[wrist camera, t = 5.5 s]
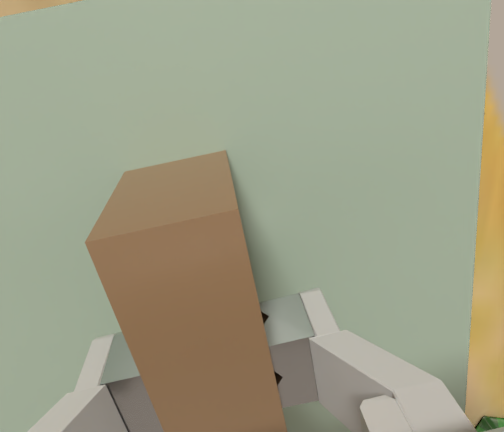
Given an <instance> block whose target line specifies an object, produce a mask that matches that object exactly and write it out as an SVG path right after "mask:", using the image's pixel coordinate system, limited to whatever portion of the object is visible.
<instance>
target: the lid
mask: <svg viewBox="0 0 504 432" xmlns="http://www.w3.org/2000/svg"><path fill="white" fill-rule="evenodd" d="M490 13H491V0H83V1H78V2H74V3H69V4H64V5H59V6H54V7H49V8H44V9H39V10H34V11H29V12H24V13H19V14H14V15H9V16H4V17H0V432H27V431H28V430H29V429H30V428H31V427H33V426H34V425H35V424H36V423H37V422H38V421H39V420H40V419H41V418H42V417H43V416H44V415H45V414H46V413H47V412H48V411H49V410H50V409H51V408H52V407H53V406H54V405H55V404H56V403H57V402H58V401H59V400H60V399H62V398H63V397H64V396H65V395H66V394H67V393H70V392H74V389H75V386H76V384H77V381H78V378H79V375H80V373H81V370H82V367H83V364H84V362H85V359H86V356H87V353H88V351H89V348H90V345H91V342H92V341H93V340H94V339H95V338H96V337H100V336H105V335H109V334H114V333H115V334H116V333H118V332H122V333H123V335H124V338H125V340H126V343H127V345H128V347H129V350H130V352H131V355H132V357H133V359H134V362H135V364H136V366H137V369H138V371H139V374H140V376H141V378H142V381H143V383H144V386H145V388H146V390H147V393H148V395H149V398H150V400H151V402H152V405H153V407H154V410H155V412H156V414H157V417H158V419H159V421H160V424H161V426H162V429H163V431H164V432H351V431H350V430H349V429H348V428H347V427H346V426H345V425H344V424H343V423H341V422H340V421H339V420H338V419H337V418H336V417H335V416H334V415H333V414H332V413H330V412H329V411H328V410H327V409H326V408H325V407H324V406H323V405H322V404H321V403H319V401H314V402H309V403H304V404H299V405H295V406H290V407H285V408H282V405H281V401H280V396H279V392H278V387H277V383H276V378H275V373H274V369H273V364H272V360H271V355H270V351H269V346H268V342H267V337H266V332H265V328H264V323H263V318H262V314H261V309H260V304H259V302H262V301H266V300H271V299H275V298H279V297H284V296H288V295H292V294H297V293H299V292H302V291H306V290H310V289H314V288H320V289H321V291H322V293H323V295H324V297H325V299H326V302H327V304H328V306H329V308H330V310H331V312H332V314H333V316H334V318H335V320H336V323H337V325H338V327H339V329H340V331H342V330H348V331H350V332H352V333H354V334H356V335H358V336H360V337H361V338H363V339H365V340H367V341H369V342H371V343H373V344H375V345H376V346H378V347H380V348H382V349H384V350H386V351H388V352H389V353H391V354H393V355H395V356H397V357H399V358H401V359H403V360H404V361H406V362H408V363H410V364H412V365H414V366H416V367H417V368H419V369H421V370H423V371H425V372H427V373H429V374H431V375H432V376H434V377H436V378H438V379H440V380H442V382H443V383H444V385H445V386H446V388H447V389H448V390H449V392H450V393H451V395H452V396H453V398H454V399H455V401H456V402H457V403H458V405H459V406H460V408H461V409H462V411H463V412H464V413H465V402H466V387H467V371H468V356H469V340H470V325H471V309H472V293H473V278H474V262H475V247H476V231H477V215H478V200H479V184H480V169H481V153H482V138H483V122H484V106H485V91H486V75H487V60H488V44H489V28H490Z"/></svg>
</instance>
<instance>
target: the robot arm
mask: <svg viewBox="0 0 504 432" xmlns="http://www.w3.org/2000/svg"><path fill="white" fill-rule="evenodd" d="M259 304H260V309H261V314H262V318H263V323H264V328H265V332H266V337H267V342H268V346H269V351H270V355H271V360H272V364H273V369H274V373H275V378H276V383H277V387H278V392H279V396H280V401H281V405H282V408H285V407H290V406H295V405H299V404H304V403H309V402H314V401H319V403H321V404H322V405H323V406H324V407H325V408H326V409H327V410H328V411H329V412H330V413H332V414H333V415H334V416H335V417H336V418H337V419H338V420H339V421H340V422H341V423H343V424H344V425H345V426H346V427H347V428H348V429H349V430H350V431H351V432H477V431H476V429H475V428H474V426H473V425H472V424H471V422H470V421H469V419H468V418H467V416H466V415H465V413H464V412H463V411H462V409H461V408H460V406H459V405H458V403H457V402H456V401H455V399H454V398H453V396H452V395H451V393H450V392H449V390H448V389H447V388H446V386H445V385H444V383H443V382H442V380H440V379H438V378H436V377H434V376H432V375H431V374H429V373H427V372H425V371H423V370H421V369H419V368H417V367H416V366H414V365H412V364H410V363H408V362H406V361H404V360H403V359H401V358H399V357H397V356H395V355H393V354H391V353H389V352H388V351H386V350H384V349H382V348H380V347H378V346H376V345H375V344H373V343H371V342H369V341H367V340H365V339H363V338H361V337H360V336H358V335H356V334H354V333H352V332H350V331H348V330H342V331H340V329H339V327H338V325H337V323H336V320H335V318H334V316H333V314H332V312H331V310H330V308H329V306H328V304H327V302H326V299H325V297H324V295H323V293H322V291H321V289H320V288H314V289H310V290H306V291H302V292H299V293H297V294H292V295H288V296H284V297H279V298H275V299H271V300H266V301H262V302H259ZM27 432H164V431H163V429H162V426H161V424H160V421H159V419H158V417H157V414H156V412H155V410H154V407H153V405H152V402H151V400H150V398H149V395H148V393H147V390H146V388H145V386H144V383H143V381H142V378H141V376H140V374H139V371H138V369H137V366H136V364H135V362H134V359H133V357H132V355H131V352H130V350H129V347H128V345H127V343H126V340H125V338H124V335H123V333H122V332H118V333H116V334H115V333H114V334H109V335H105V336H100V337H96V338H95V339H94V340H93V341H92V342H91V345H90V348H89V351H88V353H87V356H86V359H85V362H84V364H83V367H82V370H81V373H80V375H79V378H78V381H77V384H76V386H75V389H74V392H70V393H67V394H66V395H65V396H64V397H63V398H62V399H60V400H59V401H58V402H57V403H56V404H55V405H54V406H53V407H52V408H51V409H50V410H49V411H48V412H47V413H46V414H45V415H44V416H43V417H42V418H41V419H40V420H39V421H38V422H37V423H36V424H35V425H34V426H33V427H31V428H30V429H29V430H28V431H27ZM483 432H504V427H500V428H496V429H492V430H488V431H483Z"/></svg>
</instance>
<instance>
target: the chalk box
mask: <svg viewBox="0 0 504 432" xmlns="http://www.w3.org/2000/svg"><path fill="white" fill-rule="evenodd" d="M500 427H504V419H503V418H494V417H487V416H484V417H483V418H482V420H481V422H480V423H479V425H478V426H477V428H476V431H477V432H483V431H488V430H492V429H496V428H500Z"/></svg>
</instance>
